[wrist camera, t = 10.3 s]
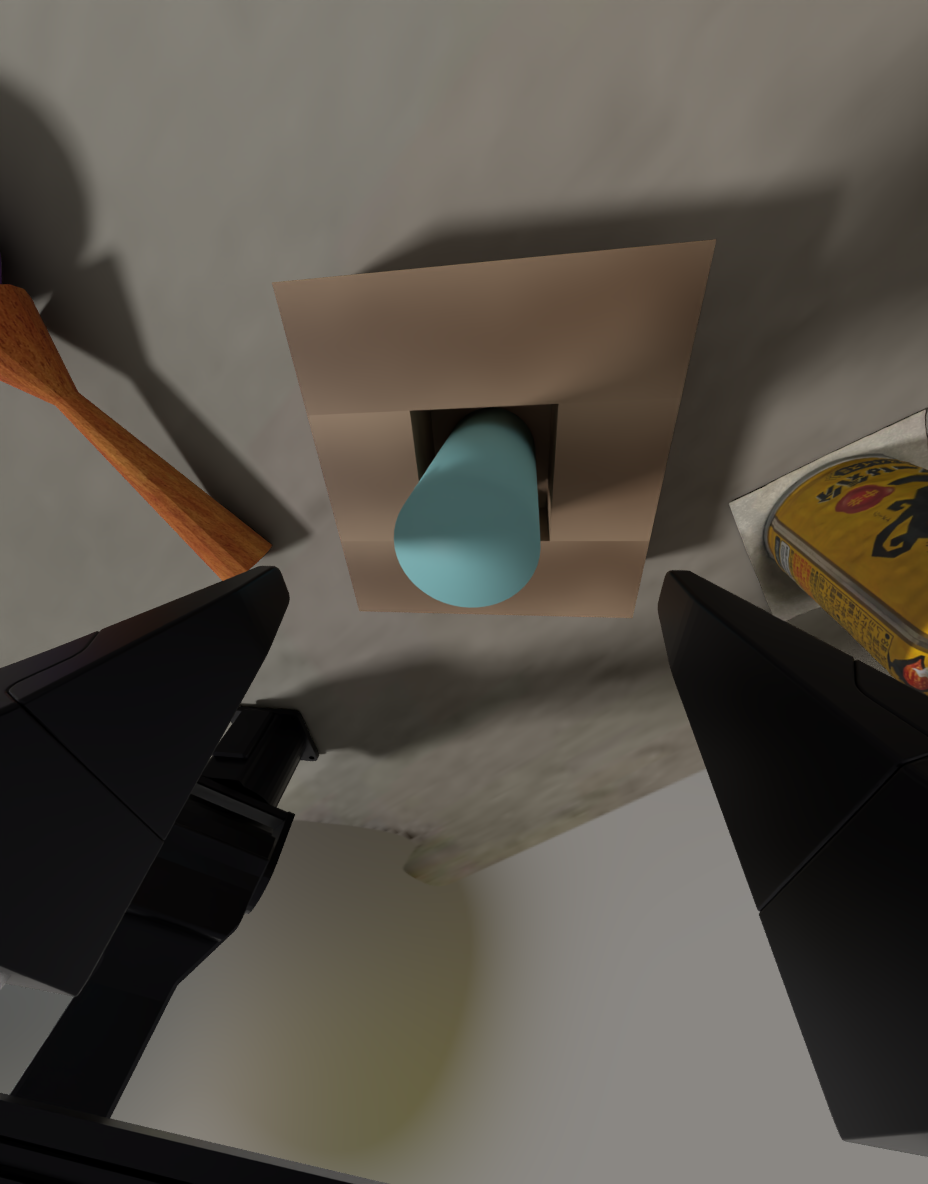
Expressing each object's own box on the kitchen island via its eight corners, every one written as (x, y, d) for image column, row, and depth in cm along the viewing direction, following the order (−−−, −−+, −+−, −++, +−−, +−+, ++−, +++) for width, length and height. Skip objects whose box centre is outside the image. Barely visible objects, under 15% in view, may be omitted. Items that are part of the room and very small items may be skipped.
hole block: (614, 566, 22) (632, 617, 18) (385, 565, 24) (359, 611, 20) (667, 259, 14) (716, 239, 11) (329, 290, 16) (272, 282, 13)
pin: (533, 496, 19) (537, 609, 12) (450, 497, 20) (404, 605, 12) (537, 405, 17) (544, 474, 9) (443, 409, 17) (382, 477, 10)
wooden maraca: (188, 612, 22) (-365, 192, 13) (252, 548, 27) (-126, 194, 17) (244, 584, 19) (-436, -4, 9) (306, 517, 23) (-120, 59, 14)
